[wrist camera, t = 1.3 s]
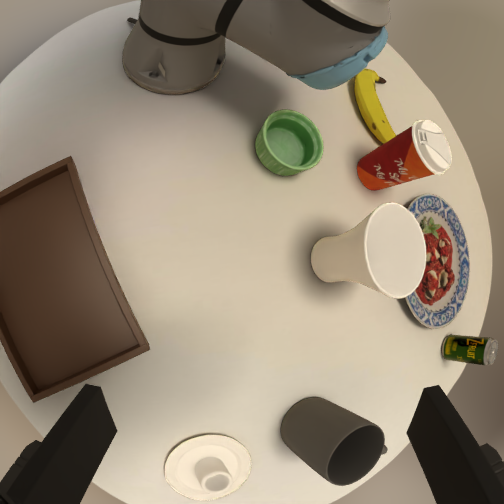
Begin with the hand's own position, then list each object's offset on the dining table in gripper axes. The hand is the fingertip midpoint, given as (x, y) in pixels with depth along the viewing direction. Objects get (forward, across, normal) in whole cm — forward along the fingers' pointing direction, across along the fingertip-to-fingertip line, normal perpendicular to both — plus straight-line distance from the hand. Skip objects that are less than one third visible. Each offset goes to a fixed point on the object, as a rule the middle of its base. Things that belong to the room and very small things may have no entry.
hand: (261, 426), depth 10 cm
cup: (+33, +9, -3) cm, 35 cm away
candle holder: (+17, -8, -27) cm, 33 cm away
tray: (+18, -25, -1) cm, 31 cm away
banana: (+49, +22, +23) cm, 59 cm away
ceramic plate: (+43, +32, -6) cm, 54 cm away
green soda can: (+39, +38, -24) cm, 60 cm away
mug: (+24, +8, -26) cm, 37 cm away
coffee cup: (+42, +18, +10) cm, 47 cm away
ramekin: (+36, +2, +13) cm, 38 cm away
